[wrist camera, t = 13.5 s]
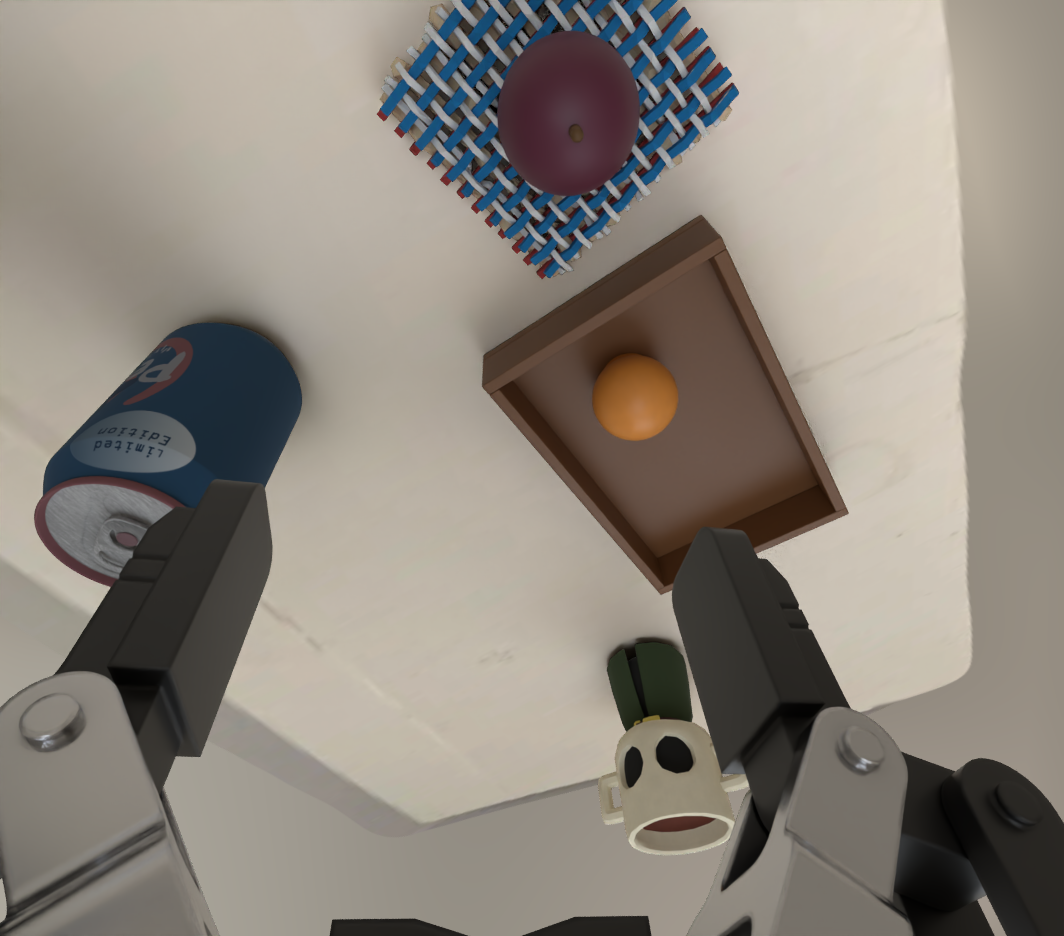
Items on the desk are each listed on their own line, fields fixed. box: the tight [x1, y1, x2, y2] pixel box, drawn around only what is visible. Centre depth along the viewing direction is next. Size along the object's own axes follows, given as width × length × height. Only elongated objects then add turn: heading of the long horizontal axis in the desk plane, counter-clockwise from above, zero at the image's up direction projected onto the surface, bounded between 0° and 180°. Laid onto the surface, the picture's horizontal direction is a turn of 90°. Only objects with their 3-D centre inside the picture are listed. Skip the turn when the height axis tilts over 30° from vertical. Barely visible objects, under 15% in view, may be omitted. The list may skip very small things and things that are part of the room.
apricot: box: [592, 353, 678, 441], centre depth 29 cm, size 4×4×4 cm
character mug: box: [598, 642, 749, 855], centre depth 43 cm, size 11×7×13 cm, turn 121°
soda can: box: [34, 323, 302, 587], centre depth 26 cm, size 7×7×12 cm
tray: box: [482, 215, 849, 594], centre depth 33 cm, size 19×12×3 cm, turn 34°
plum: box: [497, 31, 640, 196], centre depth 20 cm, size 5×5×6 cm
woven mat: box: [377, 0, 739, 279], centre depth 23 cm, size 10×11×2 cm
